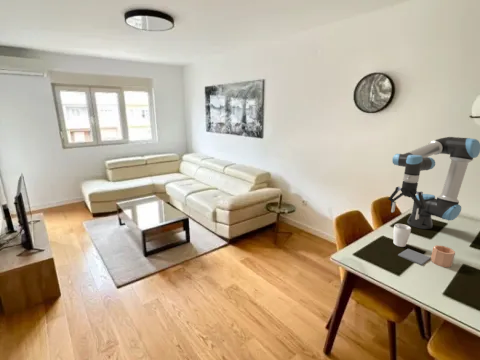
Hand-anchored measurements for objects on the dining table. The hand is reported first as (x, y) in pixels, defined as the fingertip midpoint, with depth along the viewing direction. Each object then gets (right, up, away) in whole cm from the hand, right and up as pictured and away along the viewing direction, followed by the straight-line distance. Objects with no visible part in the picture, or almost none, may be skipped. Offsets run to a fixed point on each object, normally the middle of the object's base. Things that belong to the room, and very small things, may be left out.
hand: (404, 215), depth 158 cm
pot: (+11, -24, -15) cm, 30 cm away
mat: (0, -23, -10) cm, 24 cm away
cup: (0, -19, +5) cm, 20 cm away
